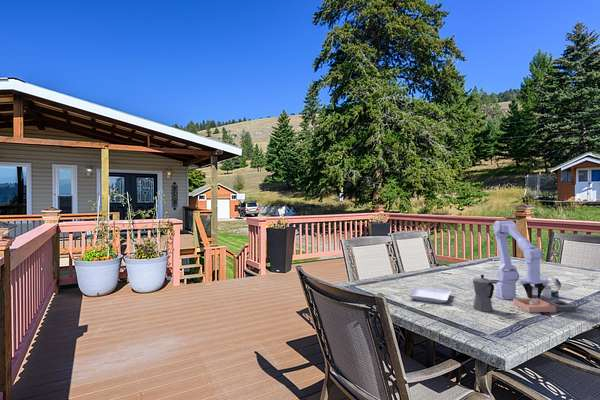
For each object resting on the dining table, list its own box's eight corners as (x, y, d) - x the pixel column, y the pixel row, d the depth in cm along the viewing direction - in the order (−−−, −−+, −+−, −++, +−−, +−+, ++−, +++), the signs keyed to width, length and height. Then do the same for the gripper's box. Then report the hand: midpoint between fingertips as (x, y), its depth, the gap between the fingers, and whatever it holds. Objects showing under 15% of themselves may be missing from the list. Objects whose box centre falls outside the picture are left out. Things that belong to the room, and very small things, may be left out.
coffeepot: (466, 305, 185) (466, 272, 185) (483, 304, 186) (482, 271, 186) (485, 315, 170) (484, 279, 169) (502, 314, 170) (502, 278, 170)
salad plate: (452, 295, 204) (452, 290, 204) (447, 306, 186) (447, 299, 186) (415, 291, 215) (415, 286, 215) (407, 300, 196) (407, 294, 196)
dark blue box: (559, 299, 192) (559, 279, 192) (542, 296, 198) (542, 277, 198) (562, 297, 195) (562, 278, 195) (546, 294, 201) (545, 275, 201)
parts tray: (529, 312, 172) (529, 306, 172) (513, 304, 185) (513, 298, 185) (555, 312, 171) (555, 306, 171) (538, 303, 185) (538, 298, 185)
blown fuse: (532, 305, 176) (532, 288, 176) (527, 303, 180) (527, 286, 180) (540, 305, 176) (539, 288, 176) (535, 303, 180) (534, 286, 180)
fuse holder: (559, 311, 172) (559, 306, 172) (533, 299, 192) (533, 295, 192) (576, 311, 172) (576, 306, 172) (548, 299, 192) (548, 295, 192)
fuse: (546, 303, 185) (545, 286, 185) (541, 301, 189) (541, 285, 189) (553, 303, 185) (552, 286, 185) (548, 301, 189) (548, 285, 189)
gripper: (524, 273, 174) (524, 300, 174) (553, 273, 174) (553, 300, 174) (515, 270, 181) (515, 296, 181) (543, 270, 181) (543, 295, 181)
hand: (533, 297), depth 178 cm, fingers closed on blown fuse, 4 cm apart
